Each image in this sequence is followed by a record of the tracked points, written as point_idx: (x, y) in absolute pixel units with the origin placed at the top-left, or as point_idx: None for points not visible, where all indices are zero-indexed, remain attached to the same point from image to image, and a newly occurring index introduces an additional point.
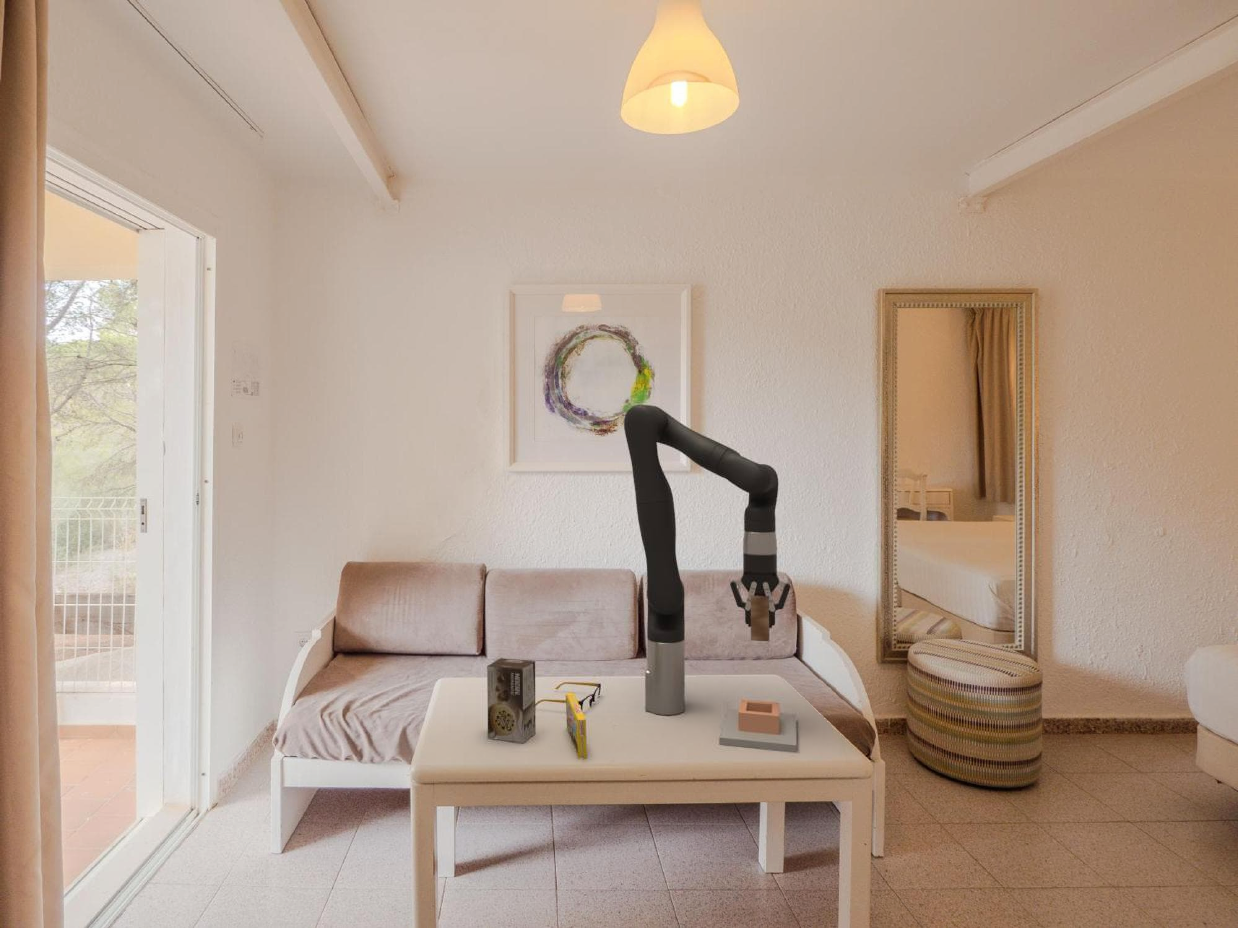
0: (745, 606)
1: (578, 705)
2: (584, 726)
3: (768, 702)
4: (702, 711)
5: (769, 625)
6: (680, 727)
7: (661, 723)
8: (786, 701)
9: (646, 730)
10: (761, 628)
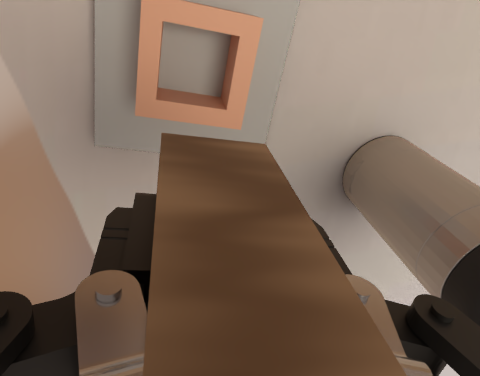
0: (383, 301)
1: None
2: None
3: (166, 114)
4: (307, 168)
5: (153, 200)
6: (372, 69)
7: (407, 89)
8: None
9: (449, 44)
10: (213, 168)
